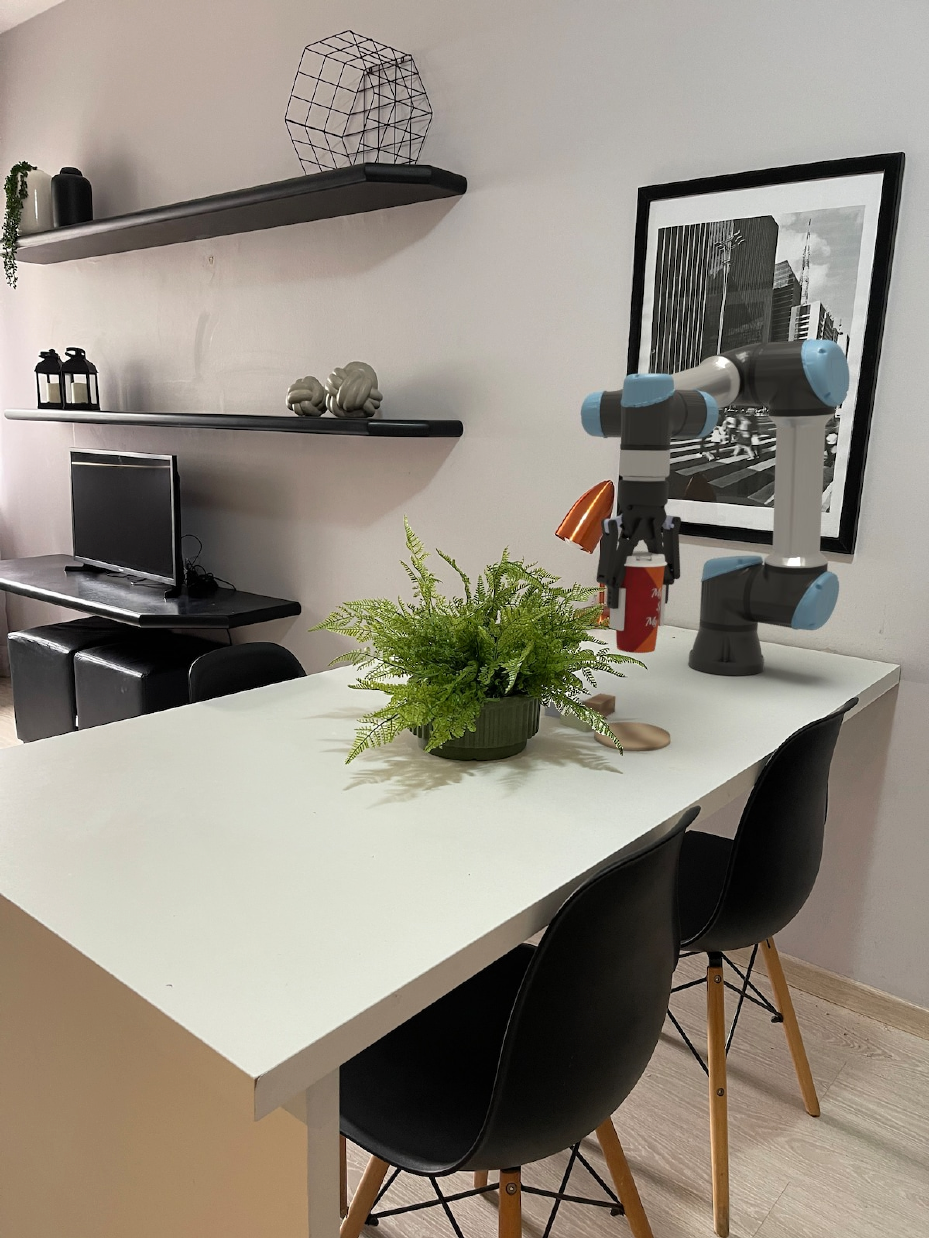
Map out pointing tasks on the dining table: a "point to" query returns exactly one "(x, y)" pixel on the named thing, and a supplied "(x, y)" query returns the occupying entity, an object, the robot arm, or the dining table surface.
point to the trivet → (635, 736)
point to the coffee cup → (641, 602)
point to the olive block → (575, 723)
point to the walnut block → (602, 704)
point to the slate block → (555, 710)
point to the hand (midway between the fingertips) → (636, 626)
